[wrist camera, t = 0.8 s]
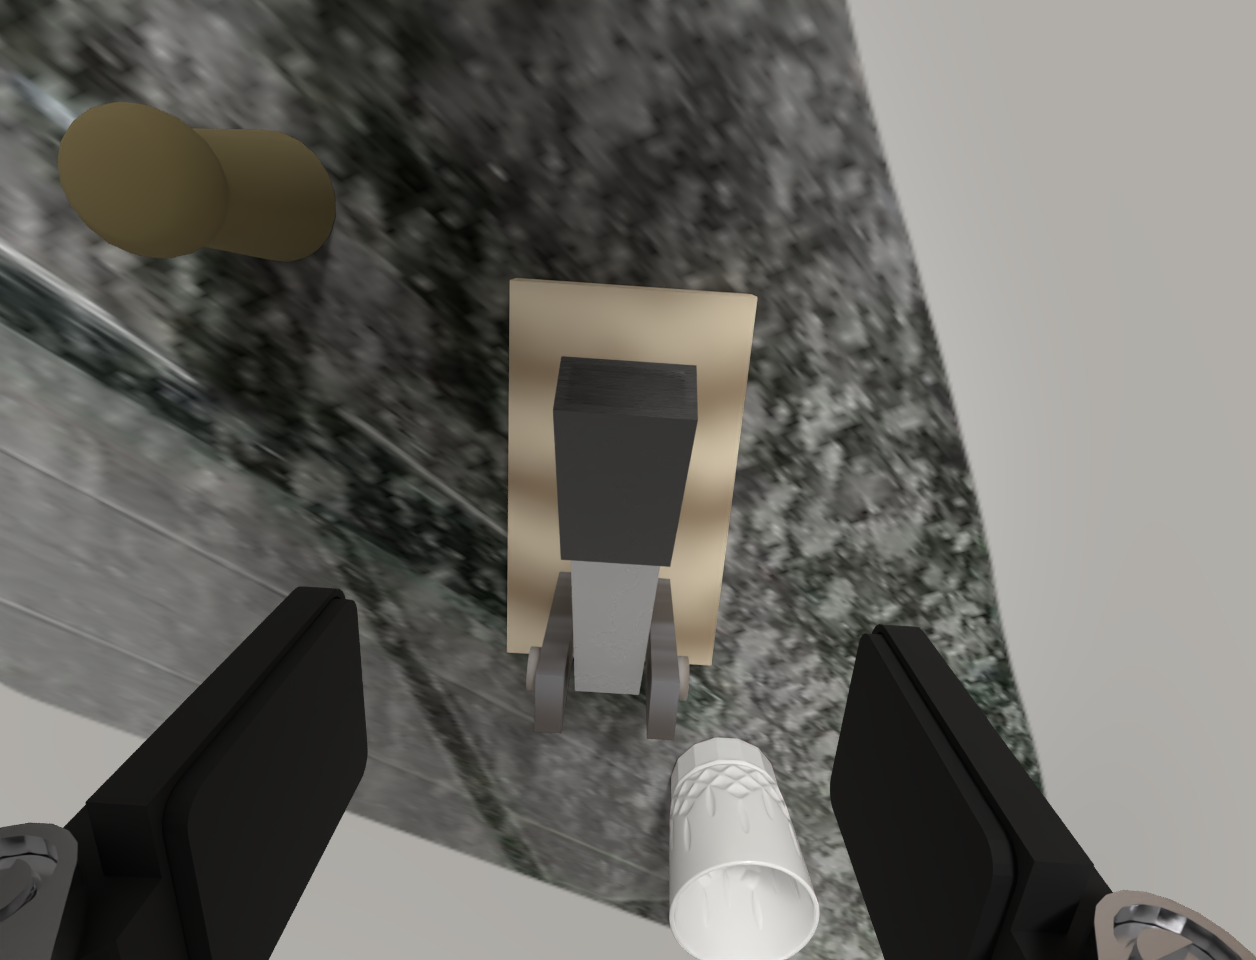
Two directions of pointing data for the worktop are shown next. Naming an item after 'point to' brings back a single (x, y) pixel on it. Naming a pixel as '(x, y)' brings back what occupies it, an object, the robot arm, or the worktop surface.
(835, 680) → the worktop surface
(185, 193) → the cork
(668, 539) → the lever
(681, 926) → the white cup
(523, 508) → the nutcracker base
